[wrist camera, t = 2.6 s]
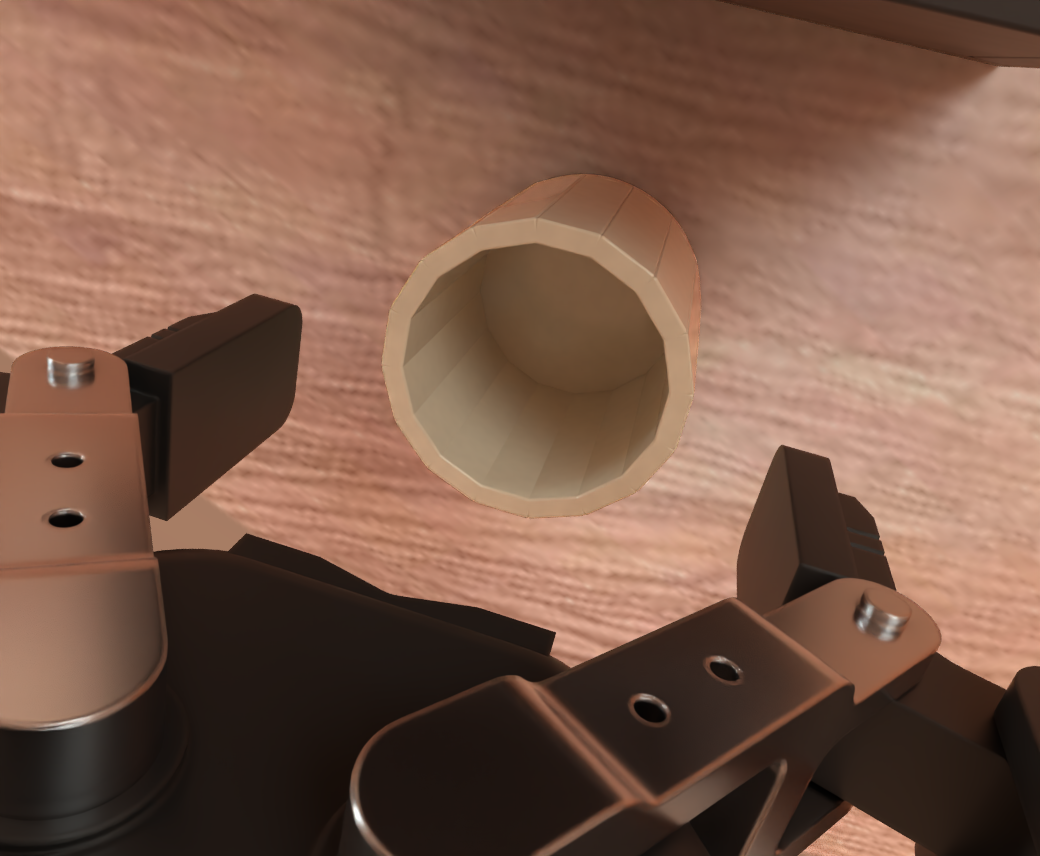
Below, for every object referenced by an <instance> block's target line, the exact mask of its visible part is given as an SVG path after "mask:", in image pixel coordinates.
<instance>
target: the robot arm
mask: <svg viewBox="0 0 1040 856" xmlns="http://www.w3.org/2000/svg"><path fill="white" fill-rule="evenodd" d="M301 332H302V313H301V310H300V308H299V307H298V306H297V305H293V304H290V303H286V302H283V301H279V300H276V299H272V298H269V297H265V296H262V295H258V294H252V295H250V296H248V297H246V298H244V299H242V300H240V301H238V302H236V303H234V304H232V305H230V306H228V307H226V308H224V309H222V310H220V311H218V312H214V313H208V314H202V315H197V316H191V317H187V318H185V319H183V320H181V321H179V322H177V323H175V324H173V325H171V326H169V327H168V329H162V330H160V331H158V332H156V333H154V334H152V336H151V337H146V338H144V339H142V340H139V341H137V342H135V343H133V344H131V345H129V346H127V347H125V348H123V349H121V350H119V351H116V352H114V353H112V354H111V353H108V352H105V351H102V350H98V349H92V348H85V347H73V346H61V347H49V348H43V349H38V350H34V351H31V352H28V353H25V354H23V355H21V356H20V357H18V358H17V359H16V360H15V361H14V362H13V364H12V367H11V373H3V372H0V856H798V855H799V854H800V853H801V852H802V851H803V850H805V849H806V848H807V847H808V846H809V845H811V844H812V843H813V842H814V841H815V840H816V839H818V838H819V837H820V836H821V835H822V834H823V833H825V832H826V831H827V830H828V829H829V828H831V827H832V826H833V825H834V824H835V823H836V822H838V821H839V820H840V819H841V818H842V817H844V816H845V815H846V814H847V813H848V812H849V811H850V809H851V808H852V806H855V807H857V808H858V809H860V810H862V811H863V812H865V813H867V814H868V815H870V816H872V817H874V818H875V819H877V820H879V821H880V822H882V823H884V824H885V825H887V826H889V827H891V828H892V829H894V830H896V831H897V832H899V833H901V834H902V835H904V836H906V837H908V838H909V839H911V840H913V841H914V842H916V843H915V856H1040V666H1031V667H1026V668H1023V669H1021V670H1020V671H1018V672H1017V674H1016V675H1015V677H1014V679H1013V680H1012V682H1011V684H1010V685H1009V687H1008V689H1007V690H1006V689H1004V688H1002V687H1000V686H998V685H996V684H994V683H992V682H990V681H987V680H985V679H983V678H981V677H979V676H977V675H975V674H973V673H971V672H969V671H967V670H965V669H963V668H962V667H960V666H958V665H956V664H954V663H952V662H951V661H949V660H948V659H946V658H944V657H943V656H941V655H940V654H939V653H937V652H936V651H937V649H938V648H939V646H940V643H941V633H940V630H939V628H938V626H937V624H936V623H935V621H934V620H933V619H932V617H931V616H930V615H929V614H928V613H927V612H926V611H925V610H924V609H922V608H921V607H920V606H919V605H917V604H916V603H915V602H913V601H912V600H910V599H909V598H907V597H906V596H904V595H902V594H900V593H899V592H897V591H896V587H895V584H894V581H893V578H892V575H891V571H890V568H889V565H888V562H887V558H886V556H884V553H885V552H884V549H883V546H882V542H881V541H880V540H879V538H880V536H879V533H878V529H877V526H876V523H875V520H874V517H873V516H872V515H871V514H870V513H869V512H868V511H867V510H866V509H865V508H864V507H863V506H862V504H861V503H860V502H859V501H858V500H857V499H856V498H855V497H852V496H848V495H845V494H842V493H838V491H837V487H836V483H835V479H834V474H833V470H832V466H831V462H830V459H829V458H826V457H823V456H819V455H816V454H812V453H809V452H805V451H802V450H798V449H795V448H791V447H788V446H784V445H781V446H780V447H779V448H778V450H777V451H776V453H775V455H774V458H773V460H772V462H771V465H770V467H769V470H768V473H767V475H766V478H765V480H764V483H763V486H762V488H761V491H760V493H759V496H758V499H757V501H756V504H755V506H754V509H753V511H752V514H751V517H750V519H749V522H748V524H747V527H746V530H745V532H744V535H743V539H742V542H741V546H740V550H739V555H738V560H737V598H735V597H731V598H727V599H724V600H722V601H720V602H718V603H715V604H713V605H711V606H709V607H706V608H704V609H702V610H700V611H697V612H695V613H693V614H691V615H689V616H686V617H684V618H682V619H680V620H677V621H675V622H673V623H671V624H668V625H666V626H664V627H662V628H660V629H657V630H655V631H653V632H651V633H648V634H646V635H644V636H642V637H639V638H637V639H635V640H633V641H630V642H628V643H626V644H624V645H622V646H619V647H617V648H615V649H613V650H610V651H608V652H606V653H604V654H601V655H599V656H597V657H595V658H593V659H590V660H588V661H586V662H584V663H581V664H579V665H577V666H575V667H572V668H570V667H569V666H567V665H566V664H564V663H563V662H561V661H559V660H558V659H556V658H554V657H552V656H550V652H551V648H552V645H553V642H554V638H555V635H556V632H553V631H550V630H546V629H543V628H540V627H537V626H534V625H531V624H528V623H525V622H521V621H518V620H515V619H512V618H509V617H506V616H503V615H500V614H496V613H493V612H490V611H487V610H484V609H481V608H478V607H471V606H464V605H458V604H451V603H444V602H437V601H430V600H424V599H417V598H410V597H403V596H397V595H392V594H389V593H387V592H384V591H382V590H380V589H379V588H377V587H375V586H373V585H371V584H369V583H367V582H366V581H364V580H362V579H360V578H358V577H356V576H354V575H353V574H351V573H349V572H347V571H345V570H343V569H341V568H340V567H338V566H336V565H334V564H332V563H330V562H328V561H327V560H325V559H323V558H321V557H319V556H315V555H312V554H309V553H306V552H303V551H300V550H297V549H294V548H290V547H287V546H284V545H281V544H278V543H275V542H272V541H269V540H265V539H262V538H259V537H256V536H253V535H250V534H247V533H246V534H245V535H244V536H243V537H242V538H241V539H240V540H239V541H238V542H237V543H236V544H235V545H234V546H233V547H232V548H231V549H230V550H229V551H221V550H209V549H176V550H162V551H156V552H153V545H152V536H151V527H150V518H149V515H150V516H153V517H156V518H159V519H162V520H165V521H168V520H169V519H170V518H171V517H172V516H174V515H175V514H176V513H177V512H178V511H180V510H181V509H182V508H183V507H185V506H186V505H187V504H188V503H190V502H191V501H192V500H193V499H194V498H196V497H197V496H198V495H199V494H200V493H202V492H203V491H204V490H205V489H207V488H208V487H209V486H210V485H211V484H213V483H214V482H215V481H216V480H217V479H219V478H220V477H221V476H222V475H224V474H225V473H226V472H227V471H228V470H230V469H231V468H232V467H233V466H235V465H236V464H237V463H238V462H239V461H241V460H242V459H243V458H244V457H245V456H247V455H248V454H249V453H250V452H252V451H253V450H254V449H255V448H256V447H258V446H259V445H260V444H261V443H262V442H264V441H265V440H266V439H267V438H269V437H270V436H271V435H272V434H273V433H275V432H276V431H277V430H278V429H279V428H280V427H281V426H282V425H283V424H284V422H285V421H286V419H287V417H288V415H289V413H290V411H291V408H292V405H293V402H294V397H295V390H296V380H297V371H298V361H299V351H300V342H301Z"/></svg>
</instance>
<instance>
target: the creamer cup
mask: <svg viewBox="0 0 1040 856" xmlns="http://www.w3.org/2000/svg"><path fill="white" fill-rule="evenodd" d="M701 307H702V305H701V294H700V277H699V271H698V264H697V261H696V257H695V255H694V252H693V249H692V247H691V244H690V242H689V240H688V238H687V236H686V234H685V232H684V231H683V229H682V228H681V226H680V225H679V223H678V222H677V220H676V219H675V218H674V217H673V216H672V215H671V213H670V212H669V211H668V210H667V209H666V208H665V207H664V206H663V205H662V204H660V203H659V202H658V201H657V200H656V199H655V198H653V197H652V196H650V195H649V194H647V193H646V192H644V191H643V190H641V189H639V188H637V187H635V186H633V185H631V184H629V183H627V182H624V181H621V180H618V179H615V178H612V177H607V176H601V175H595V174H572V175H563V176H559V177H554V178H550V179H547V180H544V181H539V182H537V183H534V184H533V185H531V186H529V187H528V188H526V189H525V190H523V191H521V192H520V193H518V194H517V195H515V196H514V197H512V198H511V199H509V200H508V201H506V202H504V203H503V204H501V205H500V206H498V207H497V208H495V209H494V210H492V211H491V212H489V213H488V214H486V215H485V216H484V217H482V218H481V219H479V220H478V221H476V222H475V223H473V224H472V225H470V226H469V227H467V228H466V229H464V230H463V231H462V232H460V233H459V234H457V235H456V236H454V237H453V238H451V239H450V240H448V241H447V242H445V243H444V244H442V245H441V246H440V247H438V248H437V249H435V250H434V251H432V252H431V253H429V254H428V255H426V256H425V257H424V258H423V259H422V260H421V261H419V263H418V265H417V266H416V268H415V269H414V271H413V272H412V274H411V275H410V277H409V279H408V280H407V282H406V283H405V285H404V286H403V288H402V289H401V291H400V293H399V294H398V296H397V297H396V299H395V300H394V302H393V303H392V305H391V309H390V310H389V315H388V321H387V328H386V334H385V341H384V347H383V354H382V360H381V364H382V372H383V376H384V380H385V384H386V388H387V392H388V396H389V401H390V405H391V409H392V413H393V417H394V419H395V422H396V424H397V425H398V427H399V428H400V430H401V431H402V432H403V434H404V435H405V437H406V438H407V440H408V441H409V443H410V444H411V446H412V447H413V449H414V450H415V451H416V453H417V454H418V456H419V457H420V459H421V460H422V462H423V463H424V465H425V466H426V467H428V469H429V470H430V471H432V472H433V473H434V474H436V475H437V476H438V477H440V478H441V479H443V480H444V481H445V482H447V483H448V484H449V485H451V486H452V487H454V488H455V489H456V490H458V491H459V492H460V493H462V494H463V495H464V496H466V497H467V498H469V499H470V500H472V501H473V500H474V502H476V503H479V504H482V505H485V506H488V507H492V508H495V509H498V510H502V511H505V512H508V513H511V514H515V515H518V516H521V517H525V518H528V517H529V518H530V519H531V518H551V517H570V516H583V515H588V514H590V513H592V512H594V511H596V510H599V509H601V508H603V507H605V506H608V505H610V504H612V503H614V502H617V501H619V500H621V499H623V498H625V497H628V496H630V495H632V494H634V493H635V492H636V491H639V490H640V489H641V488H642V486H643V485H644V484H645V483H646V482H647V481H648V480H649V479H650V478H651V477H652V476H653V475H654V474H655V472H656V471H657V470H658V469H659V468H660V467H661V466H662V465H663V464H664V463H665V462H666V461H667V459H668V458H669V457H670V456H671V455H672V454H673V453H674V451H675V449H676V448H677V446H678V443H679V440H680V437H681V434H682V431H683V428H684V425H685V422H686V419H687V416H688V413H689V410H690V407H691V404H692V401H693V398H694V391H695V379H696V367H697V355H698V343H699V331H700V319H701Z"/></svg>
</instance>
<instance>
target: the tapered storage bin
mask: <svg viewBox="0 0 1040 856" xmlns="http://www.w3.org/2000/svg"><path fill="white" fill-rule="evenodd" d="M717 1H722V2H726V3H730V4H735V5H739V6H743V7H747V8H752V9H756V10H760V11H765V12H769V13H773V14H777V15H782V16H786V17H790V18H795V19H799V20H803V21H807V22H812V23H816V24H820V25H825V26H829V27H833V28H837V29H842V30H846V31H850V32H855V33H859V34H863V35H867V36H872V37H876V38H880V39H885V40H889V41H893V42H897V43H902V44H906V45H910V46H915V47H919V48H923V49H927V50H932V51H936V52H940V53H945V54H949V55H953V56H957V57H962V58H966V59H970V60H975V61H979V62H983V63H987V64H992V65H996V66H1001V67H1026V68H1040V0H717Z"/></svg>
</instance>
